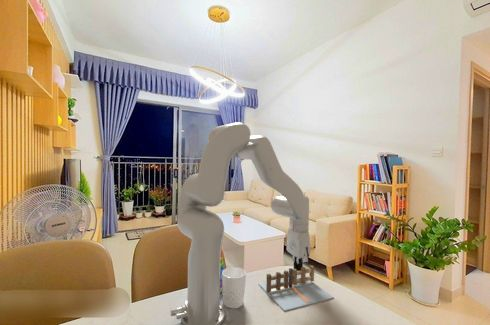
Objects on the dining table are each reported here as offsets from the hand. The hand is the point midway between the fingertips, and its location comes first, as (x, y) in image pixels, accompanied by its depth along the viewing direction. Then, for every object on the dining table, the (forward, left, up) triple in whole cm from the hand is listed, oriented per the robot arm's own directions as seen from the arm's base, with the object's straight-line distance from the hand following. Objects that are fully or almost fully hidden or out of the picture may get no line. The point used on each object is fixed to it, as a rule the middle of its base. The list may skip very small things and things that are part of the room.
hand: (298, 272), depth 99 cm
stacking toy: (-33, +4, -3) cm, 33 cm away
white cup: (-30, -6, -3) cm, 31 cm away
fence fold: (-1, -5, -2) cm, 5 cm away
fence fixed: (-11, -5, -3) cm, 13 cm away
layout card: (-7, -8, -3) cm, 11 cm away
